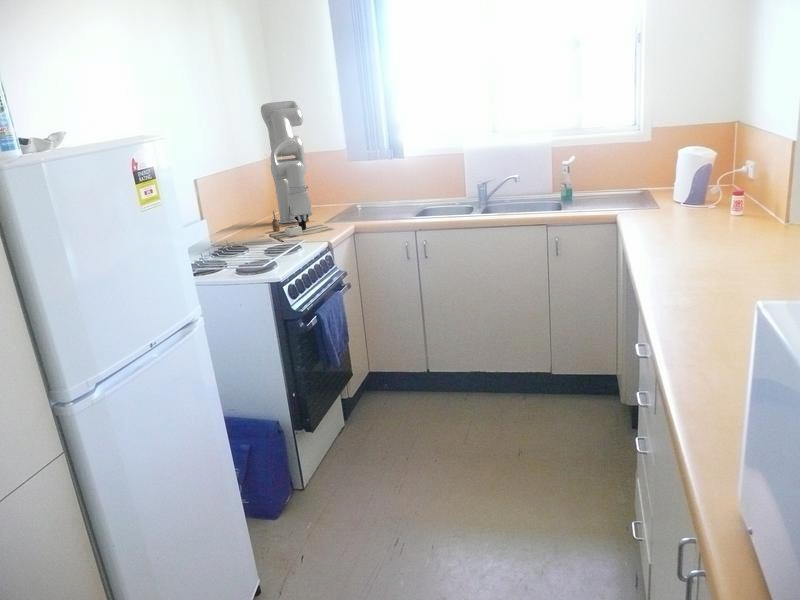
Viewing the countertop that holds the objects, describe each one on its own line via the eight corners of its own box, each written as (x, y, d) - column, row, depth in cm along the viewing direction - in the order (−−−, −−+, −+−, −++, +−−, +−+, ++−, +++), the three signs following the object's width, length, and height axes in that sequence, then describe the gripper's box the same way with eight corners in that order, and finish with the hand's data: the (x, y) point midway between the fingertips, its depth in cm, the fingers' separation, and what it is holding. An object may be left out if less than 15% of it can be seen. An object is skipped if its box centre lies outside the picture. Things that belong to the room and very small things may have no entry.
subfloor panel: (269, 236, 308) (269, 233, 308) (321, 226, 319) (321, 224, 319) (281, 242, 293) (281, 239, 293) (335, 231, 304) (335, 229, 304)
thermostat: (285, 234, 304) (284, 227, 303) (297, 231, 307) (296, 224, 306) (290, 235, 299) (289, 228, 298) (302, 233, 302) (301, 226, 301)
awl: (273, 233, 314) (269, 211, 311) (279, 232, 316) (275, 210, 313) (275, 234, 312) (271, 211, 309) (281, 233, 313) (277, 210, 310)
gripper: (309, 187, 307) (315, 226, 312) (279, 192, 300) (285, 231, 306) (315, 188, 300) (321, 228, 306) (284, 193, 294) (290, 233, 299)
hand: (303, 229), depth 306 cm, fingers closed
